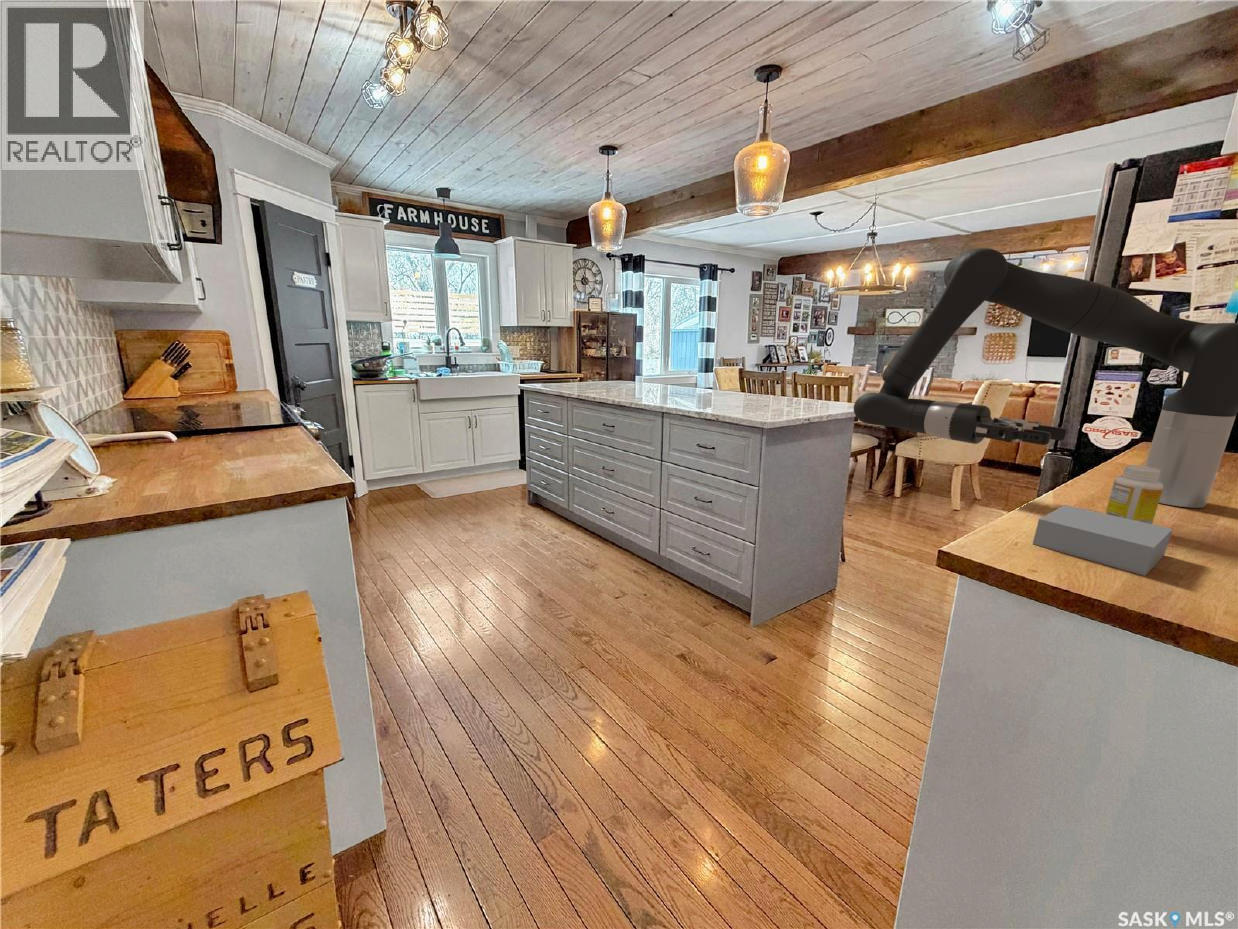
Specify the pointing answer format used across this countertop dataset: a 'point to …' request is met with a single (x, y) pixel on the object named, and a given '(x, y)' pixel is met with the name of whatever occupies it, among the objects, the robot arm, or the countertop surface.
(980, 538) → the countertop surface
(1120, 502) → the supplement bottle
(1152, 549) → the slate block
